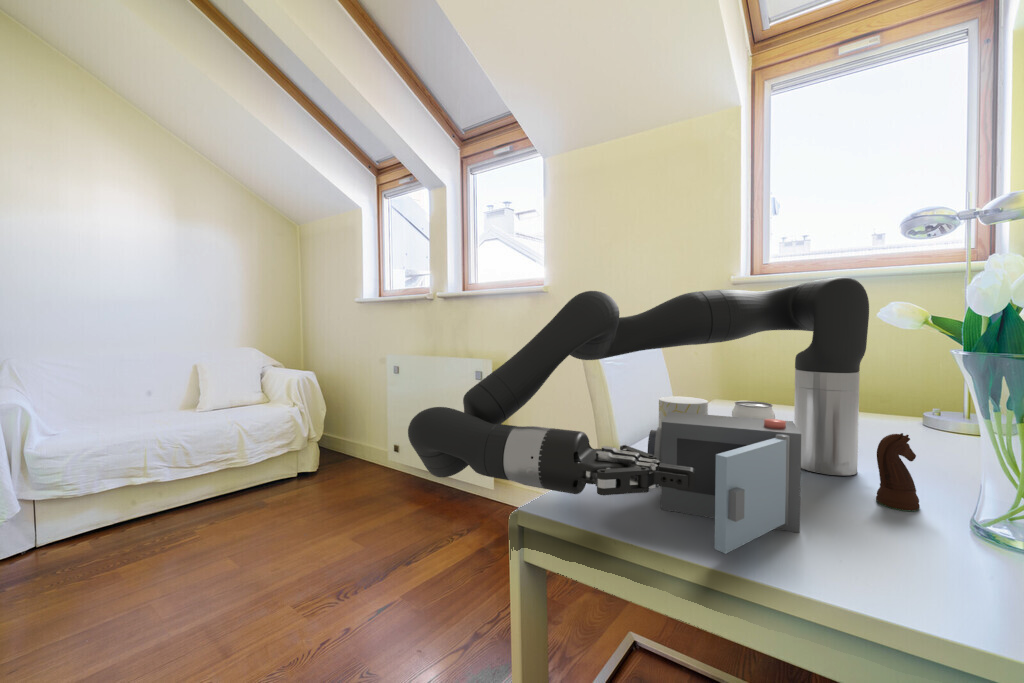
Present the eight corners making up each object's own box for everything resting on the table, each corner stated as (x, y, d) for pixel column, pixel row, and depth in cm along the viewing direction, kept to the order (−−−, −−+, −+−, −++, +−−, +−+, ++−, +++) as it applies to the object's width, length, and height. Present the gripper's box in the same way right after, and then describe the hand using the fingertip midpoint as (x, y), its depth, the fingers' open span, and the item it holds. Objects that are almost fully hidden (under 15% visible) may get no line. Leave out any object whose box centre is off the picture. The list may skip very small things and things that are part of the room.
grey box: (654, 487, 68) (654, 405, 68) (791, 508, 60) (792, 415, 60) (645, 506, 61) (646, 414, 61) (799, 532, 53) (801, 427, 53)
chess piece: (929, 511, 59) (931, 438, 59) (890, 511, 59) (891, 437, 59) (900, 498, 64) (902, 430, 64) (864, 498, 64) (865, 429, 64)
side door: (713, 551, 46) (714, 451, 46) (777, 519, 54) (779, 433, 54) (733, 560, 45) (734, 456, 44) (796, 526, 52) (798, 437, 52)
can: (780, 481, 71) (782, 407, 71) (737, 479, 72) (738, 406, 72) (766, 469, 77) (767, 401, 77) (726, 467, 78) (727, 399, 78)
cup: (649, 466, 79) (650, 399, 79) (671, 457, 84) (672, 395, 84) (694, 477, 73) (695, 405, 73) (715, 467, 78) (715, 400, 78)
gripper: (526, 440, 50) (691, 461, 42) (564, 419, 62) (699, 433, 54) (525, 505, 50) (689, 538, 43) (564, 472, 62) (697, 493, 54)
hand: (694, 479), depth 48 cm, fingers closed
